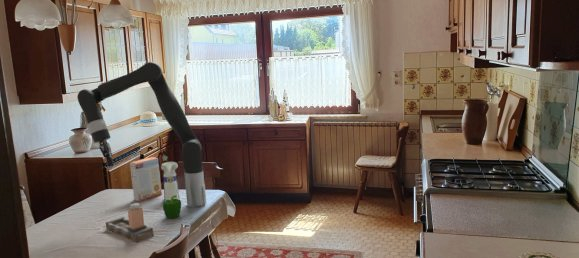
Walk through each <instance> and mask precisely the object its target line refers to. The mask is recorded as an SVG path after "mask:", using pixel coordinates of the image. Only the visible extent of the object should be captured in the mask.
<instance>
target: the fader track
mask: <svg viewBox="0 0 579 258" xmlns="http://www.w3.org/2000/svg"><path fill="white" fill-rule="evenodd" d="M105 227H106V230H107V231H108V230H109V232H111V233H113V234H116V235H118V236H120V237H123V238H126V239H128V240H130V241H133V242H135V243H138V242H141V241H143V240H147V239H149V238H151V237H154V229H153V227H151V226H147V225H146V229H143V230H140V231H138V232H135V233H134V232H131V231H129V230H128V227H130V226H129V218H126V217H125V216H121V217H120V216H119V217H117V218H115V219H111V220H108V221H105Z"/></svg>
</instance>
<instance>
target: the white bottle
mask: <svg viewBox="0 0 579 258" xmlns="http://www.w3.org/2000/svg"><path fill="white" fill-rule="evenodd" d="M161 158H162V161H163V163H162V164H161V166H160V169H161V170H162V171H163V174H162V177H163V193H164V194H163V197H164V198H163V199H164V202H165V201H166V200H171V198H172V197H173V196H175V195H176V196H177V197H175V198H173V199H178V200H180V195H179V184H178V180H177V173H176V170H177V169H178V166H179V165H178V163H177V162H176V161H168V158H169V157H168V156H166V154H164V155H163V156H162V157H161ZM164 161H166V162H164Z"/></svg>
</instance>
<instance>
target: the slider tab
mask: <svg viewBox="0 0 579 258" xmlns="http://www.w3.org/2000/svg"><path fill="white" fill-rule="evenodd" d="M127 214H128V220H129V226H130V227H128V230H129V231H131V232H134V233H135V232H138V231H140V230H143V229H146V226H147V225H145V220H144V210H143V206H141V204H140V203H138V202H134V203H131V204H129V208H128V209H127Z"/></svg>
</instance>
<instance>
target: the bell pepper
mask: <svg viewBox="0 0 579 258" xmlns="http://www.w3.org/2000/svg"><path fill="white" fill-rule="evenodd" d="M175 197H177V196H176V195H175V196H173V197H172V198H171V200H166V201H165V200H164V201H163V202H162V209H163V212H164V215H165V217H166V218H167V219H171V220H172V219H176V218H178V217H179V216H180V214H181V212H182V211H181V210H182V201H181V199H173V198H175Z"/></svg>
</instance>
